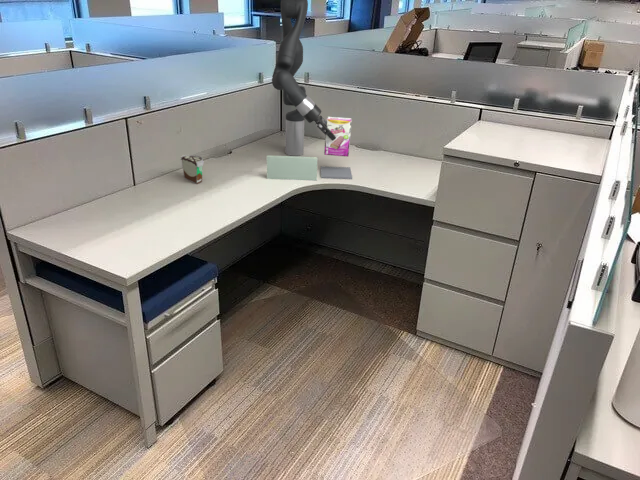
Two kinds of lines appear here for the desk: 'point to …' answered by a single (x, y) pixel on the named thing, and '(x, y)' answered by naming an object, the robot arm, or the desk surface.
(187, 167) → the food container
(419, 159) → the desk surface
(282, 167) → the screen
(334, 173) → the mat
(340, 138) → the candy bar box
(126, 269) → the desk surface
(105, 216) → the desk surface
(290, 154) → the robot arm
